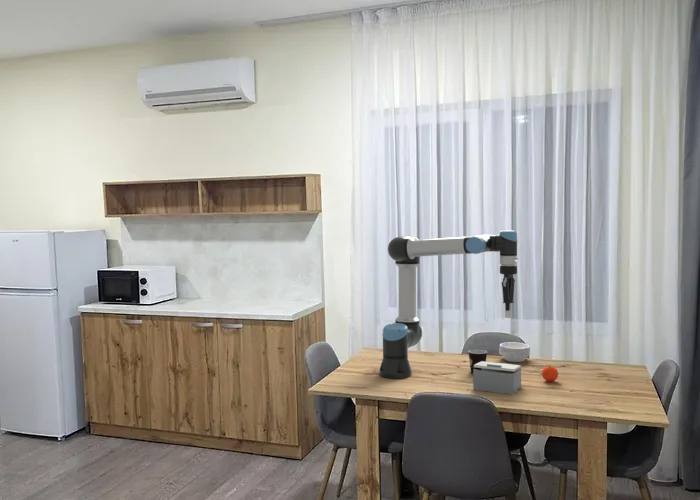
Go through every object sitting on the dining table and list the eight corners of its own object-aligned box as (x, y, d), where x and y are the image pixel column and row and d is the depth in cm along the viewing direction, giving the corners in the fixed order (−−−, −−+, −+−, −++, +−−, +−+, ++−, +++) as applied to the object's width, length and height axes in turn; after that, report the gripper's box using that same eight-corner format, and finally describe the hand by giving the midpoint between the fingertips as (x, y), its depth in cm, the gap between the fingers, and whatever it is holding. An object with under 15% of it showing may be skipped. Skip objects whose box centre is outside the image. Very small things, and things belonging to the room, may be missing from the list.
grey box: (473, 389, 266) (473, 367, 265) (482, 381, 278) (482, 360, 277) (513, 394, 258) (513, 371, 257) (521, 386, 270) (521, 364, 269)
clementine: (547, 378, 283) (547, 362, 283) (562, 380, 278) (562, 365, 278) (539, 381, 277) (539, 365, 277) (553, 384, 272) (553, 368, 272)
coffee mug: (487, 375, 289) (487, 354, 288) (468, 374, 291) (468, 353, 290) (486, 369, 300) (486, 348, 300) (468, 368, 302) (468, 348, 301)
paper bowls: (533, 363, 310) (533, 347, 310) (503, 363, 310) (503, 348, 310) (525, 356, 325) (525, 341, 325) (496, 356, 326) (496, 341, 325)
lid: (473, 367, 266) (473, 362, 266) (481, 363, 276) (481, 359, 276) (514, 371, 258) (514, 367, 258) (520, 367, 268) (520, 363, 268)
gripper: (512, 266, 269) (512, 320, 270) (520, 264, 280) (520, 316, 281) (495, 266, 273) (495, 319, 274) (504, 263, 284) (504, 314, 285)
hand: (508, 317), depth 278 cm, fingers closed
